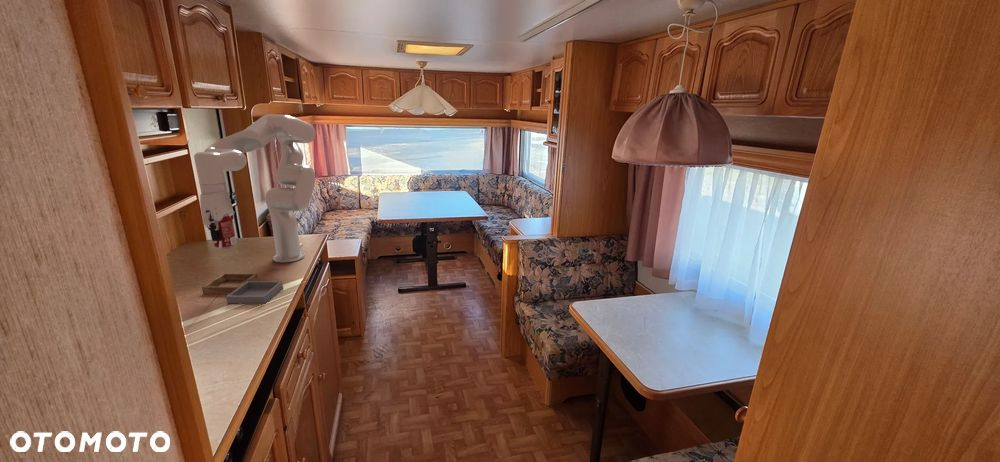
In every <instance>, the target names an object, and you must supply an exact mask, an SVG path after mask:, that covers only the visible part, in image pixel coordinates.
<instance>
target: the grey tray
mask: <svg viewBox="0 0 1000 462" xmlns="http://www.w3.org/2000/svg"><path fill="white" fill-rule="evenodd" d="M283 290H284V285H283V281H279V280H278V281H270V280H269V281H267V280H266V281H265V280H264V281H263V280H261V281H259V280H257V281H247V282H246V283H244V284H243V285H241V286H240V287H239V288H237V289H236V290H234V291H233V292H232V293H230V294H226V296H225V298H226V303H227V305H231V306H233V305H234V306H236V305H241V306H242V305H244V306H246V305H247V306H249V305H253V306H255V305H256V306H257V305H259V304H261V306H263V305H262V304H266V303H267V302H268V303H269V302H270V301H271V300H273V297H274V298H275V296H277V295H278V294H280V293H281V292H282V291H283ZM268 303H267V304H268ZM267 304H266V305H267Z"/></svg>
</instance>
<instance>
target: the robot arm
mask: <svg viewBox="0 0 1000 462" xmlns="http://www.w3.org/2000/svg"><path fill="white" fill-rule="evenodd" d="M316 133H317V132H316V130H315V128H314V126H313V125H312V124H310V123H309V122H307V121H304V120H301V119H300V118H297V117H295V116H291V115H289V114H275V113H274V114H273V113H272V114H271V113H269V114H268V113H267V114H264V115H262V116H261V117H259V118H258V119H257V120H255V121H254V122H253V123H251V125H249V126H247V127H246V128H245V129H243V130H241V131H238V132H235V133H233V134H231V135H227V136H225V137H222V138H221V139H218V140H217V141H215V142H213V143H212V144H210V146H207V148H206V149H204V151H200V152H196V153H195V154H194V155H193V158H194V164H195V169H196V174H197V175H196V176H197V178H198V183H199V188H200V196H199V197H200V199H199V203H200V204H199V206H200V211H201V212H200V213H201V218H202V224H203V226H205V227H206V229H208V231H209V232H210V237H211V240H212V242H213V241H221V240H222V236H221V231H220V230H218V229H219V221H221V220H222V219H223V216H225V215H228V214H229V216H230V217H231V218H232V221H233V222H234V215H235V211H234V209H233V205H232V200H231V197H230V194H229V190H228V187H227V181H226V177H225V175H226V174H225V172H236V171H240V170H242V169H244V168H245V167H246V165H247V164H248V163H247V162H248V161H247V159H248V158H247V156H246V155H245V154H246V153H250V152H251V153H253V152H255V151H259V150H262V149H263V148H264V147H265V146H266V145H268V144H269V143H270V142H271V141H272V140H274V139H275V138H276V139H277V141H278V142H279V144H280V148H281V156H280V160H279V163H278V167H277V169H276V173H275V174H276V175H275V179H276V180H275V181H276V182H277V184H279V185H281V187H272V188H269V189H268V190H267V192H266V193H265V196H264V200H265V204H266V207H267V209H268V212H269V215H270V220H271V225H272V226H271V227H272V232H273V240H274V248H275V252H276V254H275V255H274V256H272V259H273V261H274V262H276V263H286V264H287V263H292V262H296V261H297V262H298V261H300V260H302V259H304V257H306V253H305V252H304V251H301V248H302V247H303V246H304V244H303V243H302V242H300V237H299V229H298V224H297V223H298V222H297V217H296V214H295V213H294V212H302V211H305V210H307V208H308V207H309V205H310V202H311V199H312V197H313V196H312V195H313V191H314V187H315V184H316V174H315V170H314V169H313V168H312V167H311V166H310V165H306V164H303V162H304V153H303V151H302V149H301V147H300V146H299V144H310V143H312V142H313V141H314V140H315V139H316V136H317V135H316ZM244 153H245V154H244ZM282 186H284V187H282ZM212 220H214V221H212ZM212 223H215V226H214V225H213V224H212Z"/></svg>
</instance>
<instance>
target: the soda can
mask: <svg viewBox="0 0 1000 462" xmlns="http://www.w3.org/2000/svg"><path fill="white" fill-rule="evenodd" d="M212 221H214V220H212ZM212 224H213V225H214V226H215V223H212ZM218 230H220V231H221V236H222V240H221V241H212V242H213V245H214V248H216V249H219V250H226V249H231V248H233V247H235V246H236V245H237V244H238V242H237V237H236V232H235V227H234V220H233V221H232V218H231V217H230V216H229V214H228V215H225V216H223V219H222V220H221V221H219V229H218Z"/></svg>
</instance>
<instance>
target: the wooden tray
mask: <svg viewBox="0 0 1000 462" xmlns="http://www.w3.org/2000/svg"><path fill="white" fill-rule="evenodd" d="M226 281H243V282H240V284H239V285H237V286H220V285H221V284H223V283H225V282H226ZM247 281H259V276H258V273H234V272H233V273H231V272H230V273H227V272H226V273H225V272H224V273H222V274H221V275H220V276H218V277H216V278H214V279H213V280H212V281H210V282H208V283H207V284H205V285H204V286H202V287H201V289H202V290H201V291H202V294H205V295H207V294H208V295H210V294H211V295H229V294H230V293H232V292H233V291H234V290H236V289H237V288H239V287H240V286H241V285H243V284H244V283H246V282H247Z"/></svg>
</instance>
